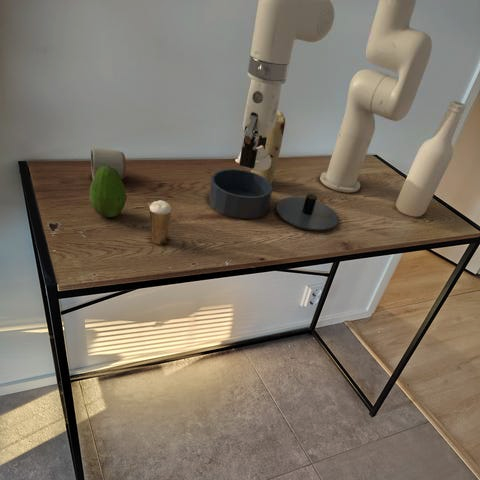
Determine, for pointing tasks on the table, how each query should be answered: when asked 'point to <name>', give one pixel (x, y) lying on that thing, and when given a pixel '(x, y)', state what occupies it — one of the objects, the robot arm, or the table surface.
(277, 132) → the food model
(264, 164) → the whipped cream
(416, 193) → the alcohol
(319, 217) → the pot lid
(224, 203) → the pot
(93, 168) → the ceramic mug
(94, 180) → the avocado
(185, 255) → the table surface
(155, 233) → the milkshake
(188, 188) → the table surface
